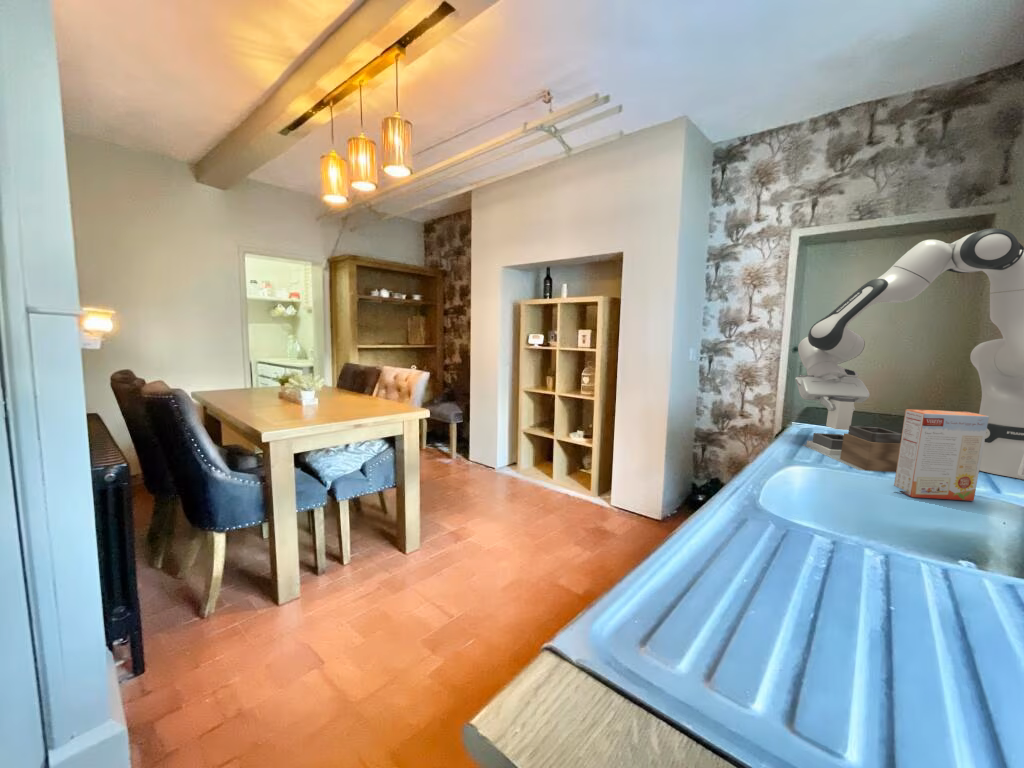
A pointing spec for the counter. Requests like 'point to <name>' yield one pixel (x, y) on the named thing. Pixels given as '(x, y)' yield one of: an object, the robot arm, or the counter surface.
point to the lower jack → (827, 443)
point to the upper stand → (871, 448)
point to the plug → (840, 413)
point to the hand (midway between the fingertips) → (842, 410)
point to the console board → (837, 458)
